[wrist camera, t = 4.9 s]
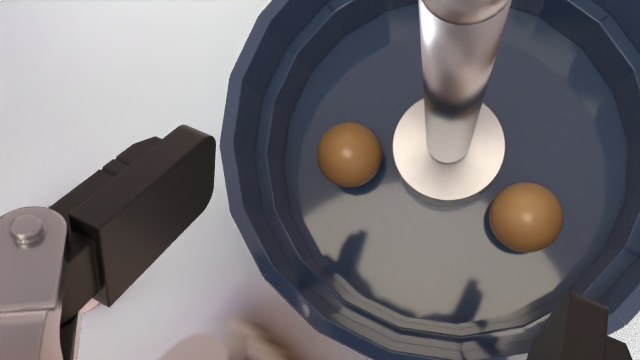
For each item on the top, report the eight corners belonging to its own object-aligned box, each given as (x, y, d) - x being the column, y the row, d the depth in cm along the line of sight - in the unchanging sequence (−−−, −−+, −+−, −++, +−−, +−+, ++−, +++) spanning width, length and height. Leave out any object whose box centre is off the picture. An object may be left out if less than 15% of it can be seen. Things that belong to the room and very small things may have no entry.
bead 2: (479, 195, 27) (484, 185, 24) (545, 180, 27) (559, 169, 24) (494, 259, 26) (502, 258, 24) (563, 246, 26) (579, 243, 23)
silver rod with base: (386, 119, 28) (309, -126, 11) (486, 96, 28) (576, -207, 10) (407, 216, 27) (359, 118, 10) (511, 194, 27) (656, 48, 9)
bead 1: (317, 138, 29) (305, 123, 26) (377, 124, 28) (371, 107, 26) (329, 197, 28) (317, 188, 25) (390, 184, 28) (385, 173, 25)
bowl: (240, 35, 31) (192, -25, 25) (589, -58, 29) (632, -152, 22) (300, 381, 28) (261, 413, 22) (702, 313, 25) (791, 327, 19)
